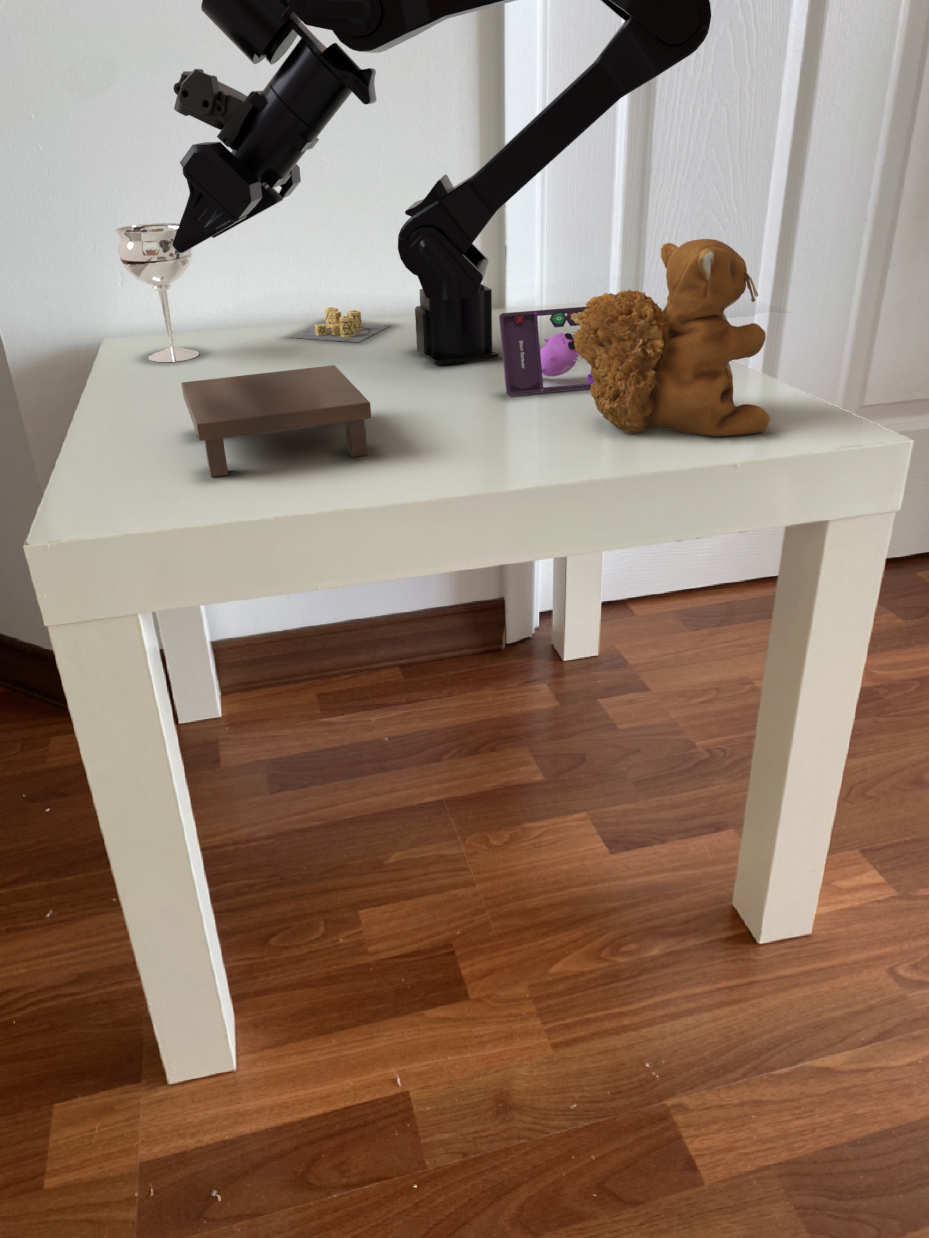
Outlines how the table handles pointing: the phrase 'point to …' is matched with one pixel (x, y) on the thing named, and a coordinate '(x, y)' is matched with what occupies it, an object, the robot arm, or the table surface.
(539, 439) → the table surface
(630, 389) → the stuffed squirrel
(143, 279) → the wineglass
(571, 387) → the game card
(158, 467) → the table surface
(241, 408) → the side table
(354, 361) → the table surface
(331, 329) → the dice set
